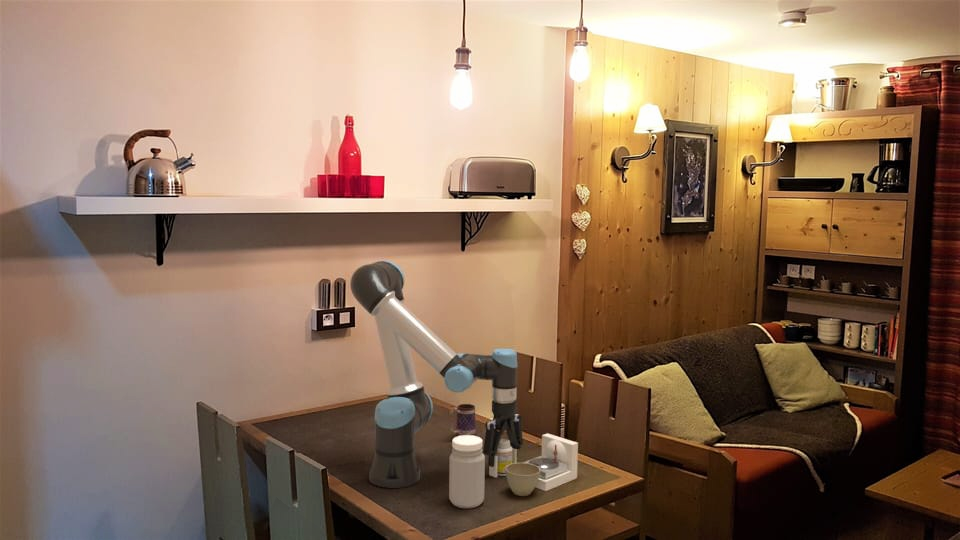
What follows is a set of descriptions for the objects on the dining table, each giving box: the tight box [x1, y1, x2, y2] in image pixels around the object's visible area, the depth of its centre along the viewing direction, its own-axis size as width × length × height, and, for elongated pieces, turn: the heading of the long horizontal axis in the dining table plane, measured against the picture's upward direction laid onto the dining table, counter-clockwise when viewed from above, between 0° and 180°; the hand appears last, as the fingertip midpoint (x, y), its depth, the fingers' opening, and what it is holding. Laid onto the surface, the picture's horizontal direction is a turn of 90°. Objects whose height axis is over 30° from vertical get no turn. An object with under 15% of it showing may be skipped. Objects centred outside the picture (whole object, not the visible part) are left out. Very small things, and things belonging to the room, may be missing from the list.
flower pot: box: [505, 462, 540, 497], centre depth 219 cm, size 10×10×7 cm
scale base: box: [535, 432, 579, 492], centre depth 230 cm, size 15×12×11 cm
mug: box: [449, 403, 477, 437], centre depth 264 cm, size 10×7×12 cm
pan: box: [522, 455, 567, 479], centre depth 229 cm, size 10×10×2 cm
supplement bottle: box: [496, 438, 512, 477], centre depth 234 cm, size 6×6×10 cm
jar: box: [448, 435, 486, 509], centre depth 212 cm, size 10×10×18 cm
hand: (502, 472), depth 234 cm, fingers open, 8 cm apart
